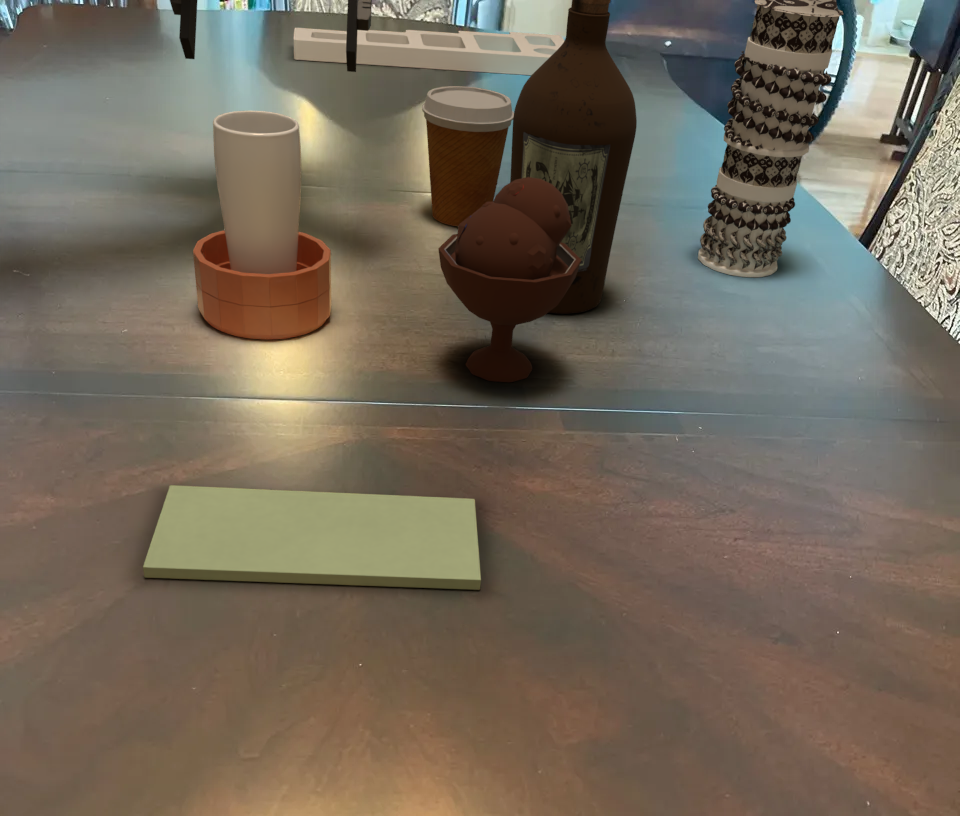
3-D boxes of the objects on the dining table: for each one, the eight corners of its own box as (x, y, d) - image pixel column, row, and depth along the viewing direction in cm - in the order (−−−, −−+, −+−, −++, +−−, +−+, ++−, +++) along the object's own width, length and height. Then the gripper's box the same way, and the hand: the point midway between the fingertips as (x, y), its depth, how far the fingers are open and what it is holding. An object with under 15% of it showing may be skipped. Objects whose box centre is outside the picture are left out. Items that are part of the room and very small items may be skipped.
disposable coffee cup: (488, 239, 110) (499, 115, 102) (404, 222, 112) (408, 99, 104) (515, 212, 117) (527, 95, 109) (435, 197, 119) (441, 80, 111)
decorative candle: (684, 266, 109) (743, -14, 93) (703, 239, 115) (761, -26, 99) (772, 285, 107) (848, 2, 90) (786, 257, 113) (859, -12, 97)
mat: (144, 577, 62) (142, 567, 62) (171, 495, 69) (169, 484, 69) (480, 590, 64) (481, 579, 63) (473, 508, 71) (474, 498, 70)
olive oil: (509, 266, 105) (539, -27, 89) (614, 283, 104) (663, -11, 87) (486, 306, 97) (514, -8, 81) (599, 325, 95) (650, 10, 79)
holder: (293, 59, 163) (293, 39, 161) (296, 34, 177) (295, 16, 175) (577, 78, 169) (579, 59, 167) (558, 52, 183) (560, 35, 181)
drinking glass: (281, 330, 88) (273, 139, 79) (210, 313, 90) (194, 123, 80) (318, 302, 93) (315, 119, 83) (250, 286, 95) (240, 105, 85)
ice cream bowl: (481, 327, 93) (496, 148, 83) (588, 368, 89) (618, 183, 79) (406, 366, 86) (414, 175, 77) (519, 411, 82) (542, 215, 72)
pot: (190, 337, 87) (183, 271, 83) (210, 284, 95) (205, 222, 92) (326, 344, 88) (325, 280, 84) (334, 291, 96) (333, 231, 93)
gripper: (119, -236, 85) (105, 12, 83) (427, -204, 87) (419, 38, 86) (140, -159, 93) (128, 71, 91) (423, -131, 95) (416, 93, 93)
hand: (269, 56), depth 88 cm, fingers open, 13 cm apart
